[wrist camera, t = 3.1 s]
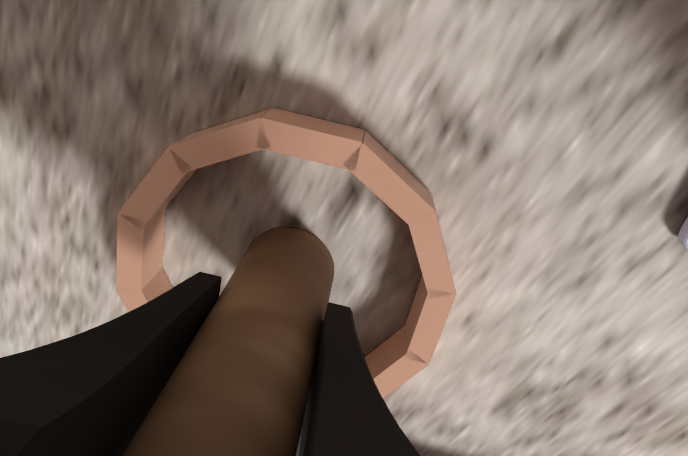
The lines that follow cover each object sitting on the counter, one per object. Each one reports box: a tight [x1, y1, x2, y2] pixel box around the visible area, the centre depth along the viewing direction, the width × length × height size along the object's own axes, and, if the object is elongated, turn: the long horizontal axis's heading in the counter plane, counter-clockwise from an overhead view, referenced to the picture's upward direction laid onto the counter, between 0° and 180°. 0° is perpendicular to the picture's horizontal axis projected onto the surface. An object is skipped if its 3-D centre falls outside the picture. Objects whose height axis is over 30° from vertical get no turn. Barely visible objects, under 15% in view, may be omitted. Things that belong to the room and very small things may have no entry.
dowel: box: [123, 227, 334, 456], centre depth 11 cm, size 3×3×9 cm
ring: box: [116, 108, 456, 398], centre depth 15 cm, size 10×10×2 cm
